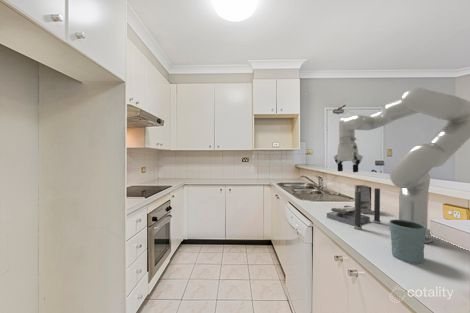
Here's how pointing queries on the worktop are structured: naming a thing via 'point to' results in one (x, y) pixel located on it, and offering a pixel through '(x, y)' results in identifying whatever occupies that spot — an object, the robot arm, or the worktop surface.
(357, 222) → the dark grey rod
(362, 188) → the coffee box
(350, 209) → the block
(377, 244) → the worktop surface
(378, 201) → the dark grey post
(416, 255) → the teal green cup
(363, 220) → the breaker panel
